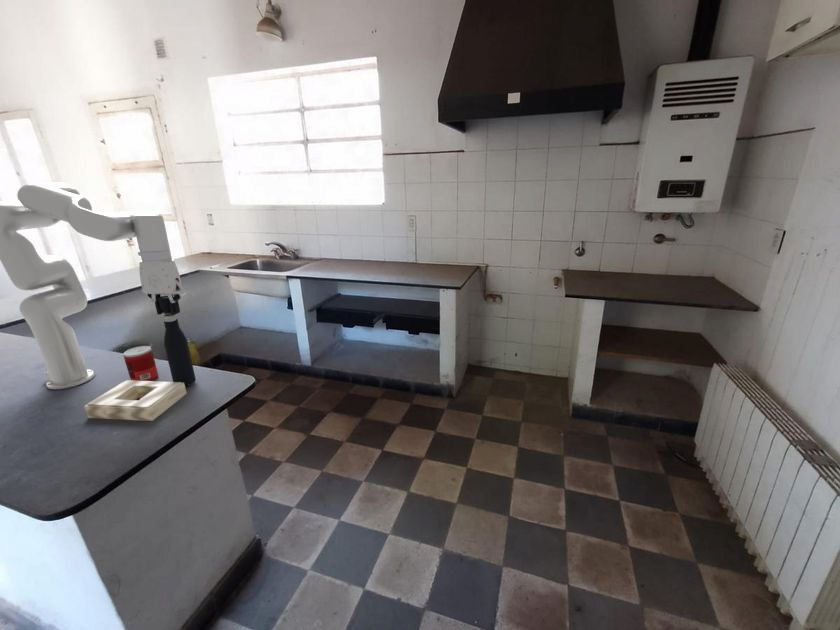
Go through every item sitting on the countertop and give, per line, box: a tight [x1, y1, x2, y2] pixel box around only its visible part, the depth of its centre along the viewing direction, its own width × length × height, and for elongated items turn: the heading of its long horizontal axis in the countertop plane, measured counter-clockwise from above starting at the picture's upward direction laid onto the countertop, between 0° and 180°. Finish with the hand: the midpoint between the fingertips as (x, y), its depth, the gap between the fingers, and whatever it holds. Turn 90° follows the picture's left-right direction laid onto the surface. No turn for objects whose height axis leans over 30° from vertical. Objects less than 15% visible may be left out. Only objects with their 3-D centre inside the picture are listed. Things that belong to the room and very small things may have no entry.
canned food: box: [122, 345, 159, 381], centre depth 132 cm, size 8×8×11 cm
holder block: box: [84, 379, 188, 422], centre depth 117 cm, size 20×15×4 cm
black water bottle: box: [158, 295, 196, 387], centre depth 124 cm, size 6×6×30 cm
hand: (168, 312), depth 120 cm, fingers closed on black water bottle, 3 cm apart
